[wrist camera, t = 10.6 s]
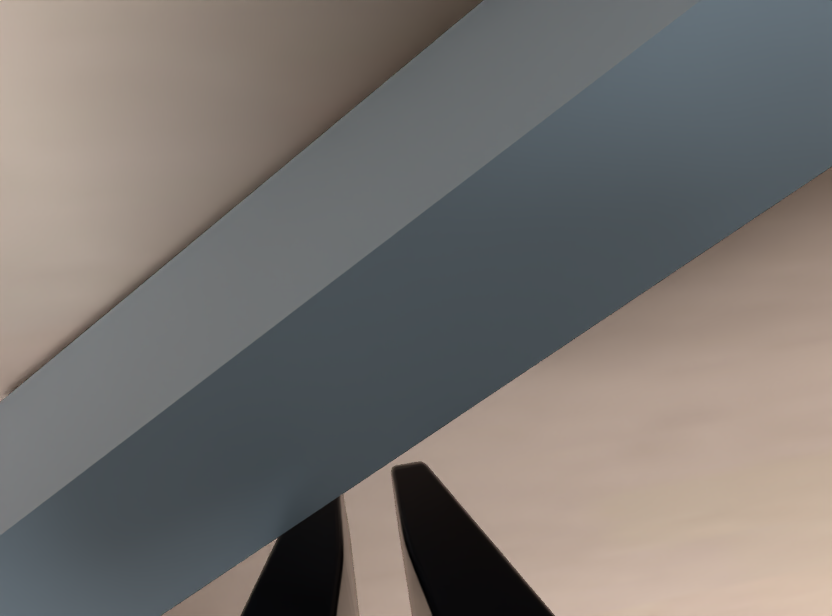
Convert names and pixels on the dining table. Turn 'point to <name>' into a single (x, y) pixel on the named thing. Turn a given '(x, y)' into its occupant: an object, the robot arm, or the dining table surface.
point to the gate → (399, 281)
